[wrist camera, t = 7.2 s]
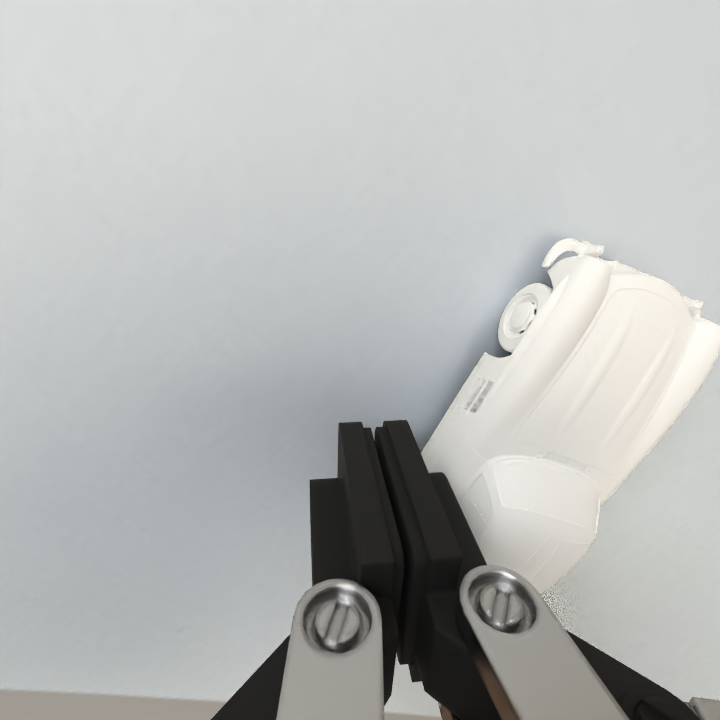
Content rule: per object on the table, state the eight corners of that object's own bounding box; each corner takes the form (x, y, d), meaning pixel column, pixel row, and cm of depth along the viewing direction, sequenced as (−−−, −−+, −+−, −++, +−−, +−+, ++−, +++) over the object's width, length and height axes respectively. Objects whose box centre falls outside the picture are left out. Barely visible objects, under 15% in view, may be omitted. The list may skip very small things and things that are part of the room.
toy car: (687, 300, 11) (833, 356, 8) (457, 594, 15) (495, 705, 12) (544, 221, 10) (654, 251, 7) (335, 566, 14) (343, 683, 11)
